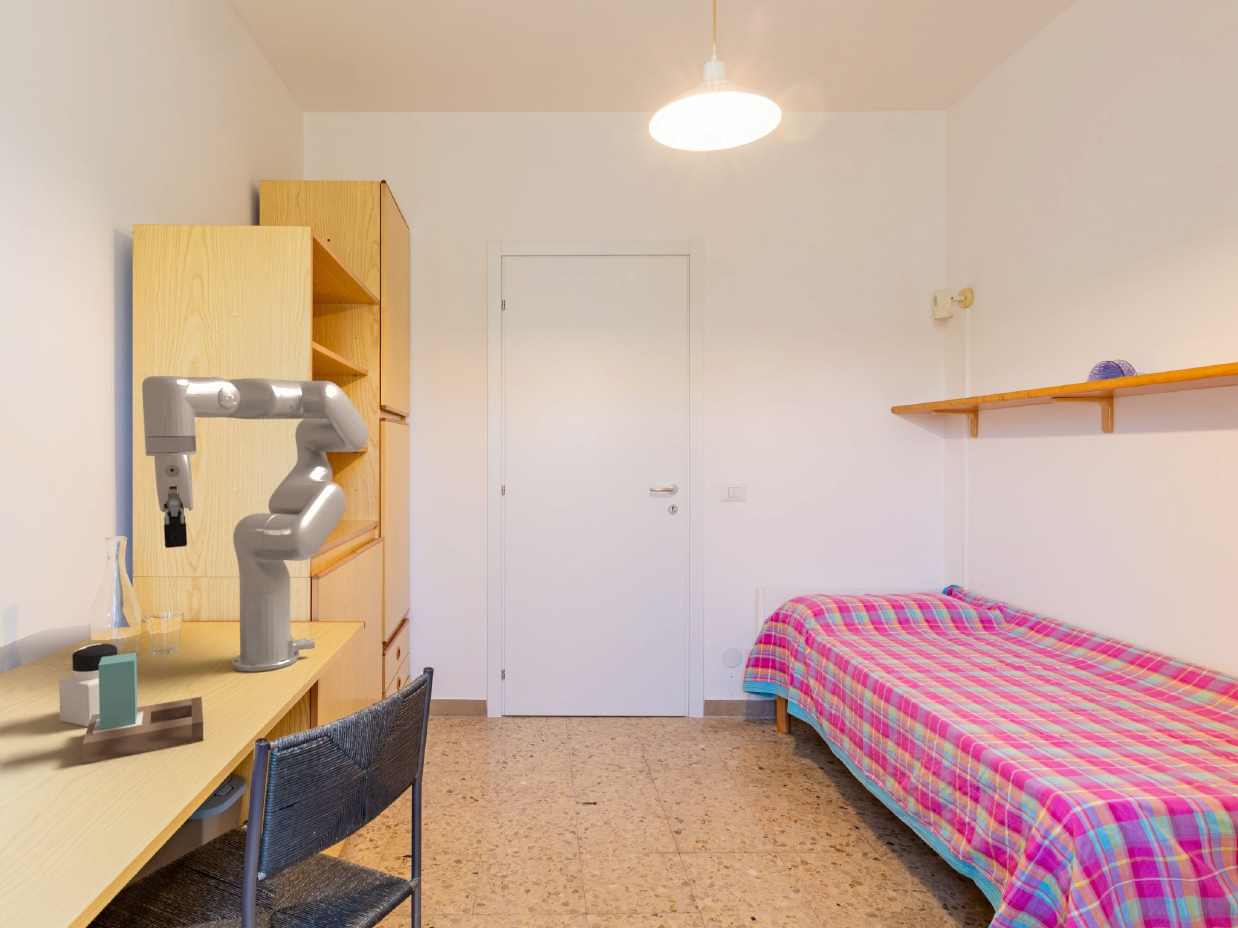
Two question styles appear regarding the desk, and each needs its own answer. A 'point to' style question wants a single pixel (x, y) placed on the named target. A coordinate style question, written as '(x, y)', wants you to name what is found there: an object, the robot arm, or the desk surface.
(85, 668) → the medicine bottle
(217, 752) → the desk surface
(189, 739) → the pocket board
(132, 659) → the peg
